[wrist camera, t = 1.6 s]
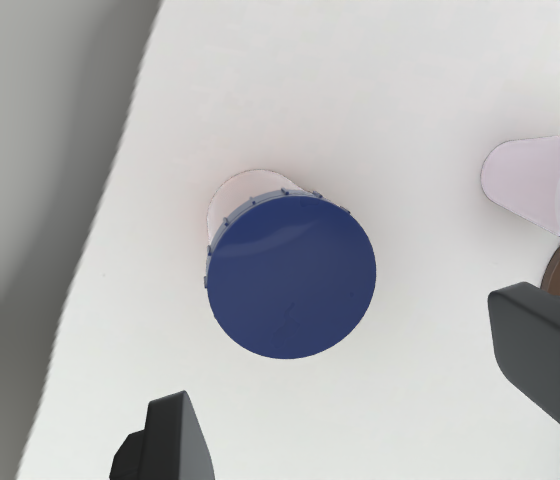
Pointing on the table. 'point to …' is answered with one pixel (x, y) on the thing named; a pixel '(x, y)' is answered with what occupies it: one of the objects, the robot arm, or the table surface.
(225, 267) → the jar lid
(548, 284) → the coaster
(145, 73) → the table surface
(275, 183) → the jar
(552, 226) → the smoothie
